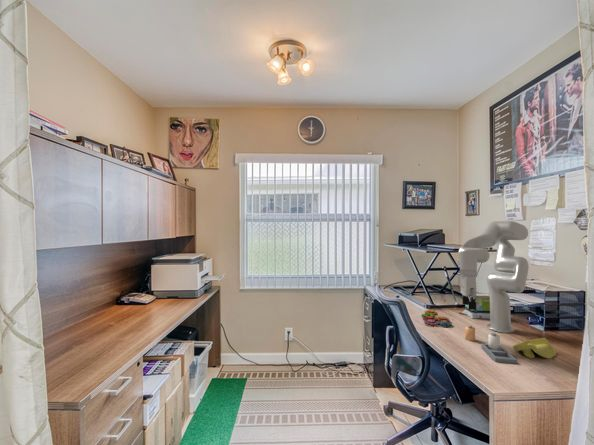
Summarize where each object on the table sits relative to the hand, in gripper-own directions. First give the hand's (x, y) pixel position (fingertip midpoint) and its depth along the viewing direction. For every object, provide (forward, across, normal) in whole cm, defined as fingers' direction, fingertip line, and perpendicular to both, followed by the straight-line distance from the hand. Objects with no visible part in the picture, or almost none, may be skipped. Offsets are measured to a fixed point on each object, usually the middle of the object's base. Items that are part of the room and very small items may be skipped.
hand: (469, 307), depth 148 cm
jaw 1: (+17, 0, 0) cm, 17 cm away
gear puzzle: (+18, -36, -9) cm, 41 cm away
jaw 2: (+16, +13, +6) cm, 22 cm away
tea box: (+17, -47, +20) cm, 54 cm away
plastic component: (+18, +10, +22) cm, 30 cm away
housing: (+18, +17, +6) cm, 25 cm away
